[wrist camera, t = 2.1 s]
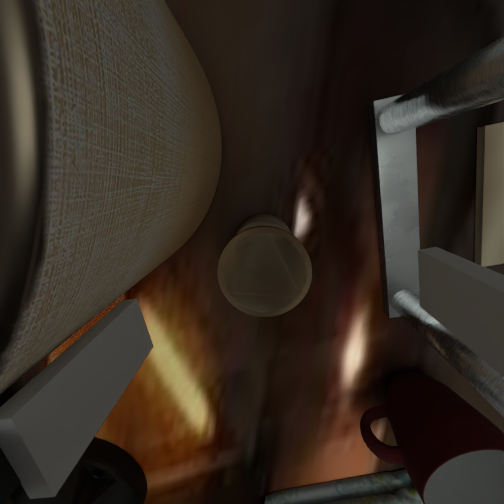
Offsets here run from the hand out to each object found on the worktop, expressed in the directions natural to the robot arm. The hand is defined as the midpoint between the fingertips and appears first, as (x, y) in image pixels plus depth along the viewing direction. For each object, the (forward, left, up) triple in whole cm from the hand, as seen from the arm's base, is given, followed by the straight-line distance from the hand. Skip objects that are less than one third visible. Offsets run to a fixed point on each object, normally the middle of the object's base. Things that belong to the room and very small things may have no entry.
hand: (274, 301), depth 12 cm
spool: (0, 0, -13) cm, 13 cm away
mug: (+11, -19, -13) cm, 25 cm away
